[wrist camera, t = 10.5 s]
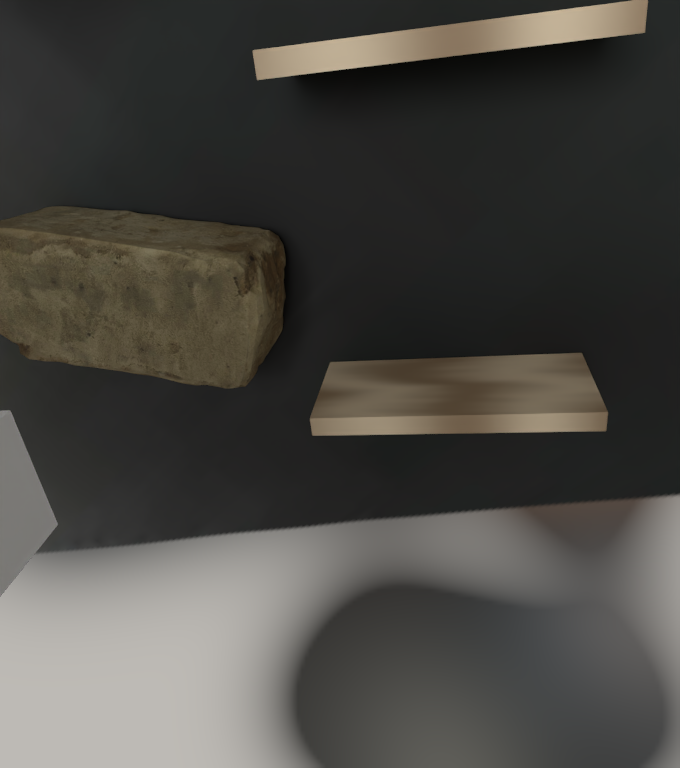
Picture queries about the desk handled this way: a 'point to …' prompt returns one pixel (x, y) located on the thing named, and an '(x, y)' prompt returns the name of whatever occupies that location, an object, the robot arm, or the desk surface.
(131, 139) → the desk surface
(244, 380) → the stone block
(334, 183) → the desk surface
